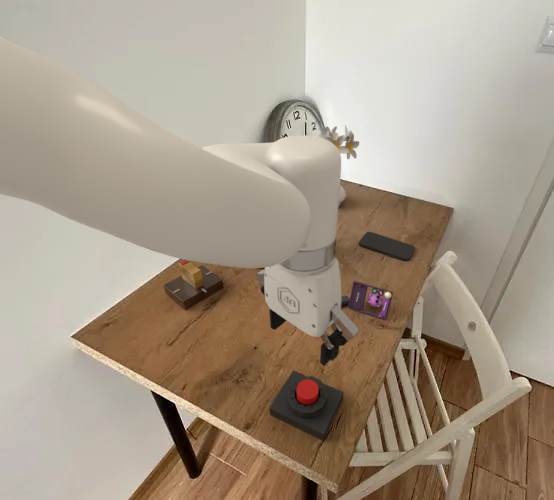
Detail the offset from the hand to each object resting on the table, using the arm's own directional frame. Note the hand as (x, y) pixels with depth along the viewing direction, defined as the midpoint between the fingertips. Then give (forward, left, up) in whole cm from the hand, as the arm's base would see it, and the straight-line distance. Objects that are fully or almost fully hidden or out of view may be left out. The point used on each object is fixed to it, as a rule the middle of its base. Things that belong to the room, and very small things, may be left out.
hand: (303, 340), depth 52 cm
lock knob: (+4, +38, -14) cm, 40 cm away
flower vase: (+58, +41, -17) cm, 73 cm away
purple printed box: (+27, +4, -17) cm, 32 cm away
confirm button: (0, -1, -13) cm, 13 cm away
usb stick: (+21, +11, -17) cm, 29 cm away
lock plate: (+4, +38, -16) cm, 41 cm away
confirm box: (0, -1, -16) cm, 16 cm away
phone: (+50, +14, -16) cm, 54 cm away
